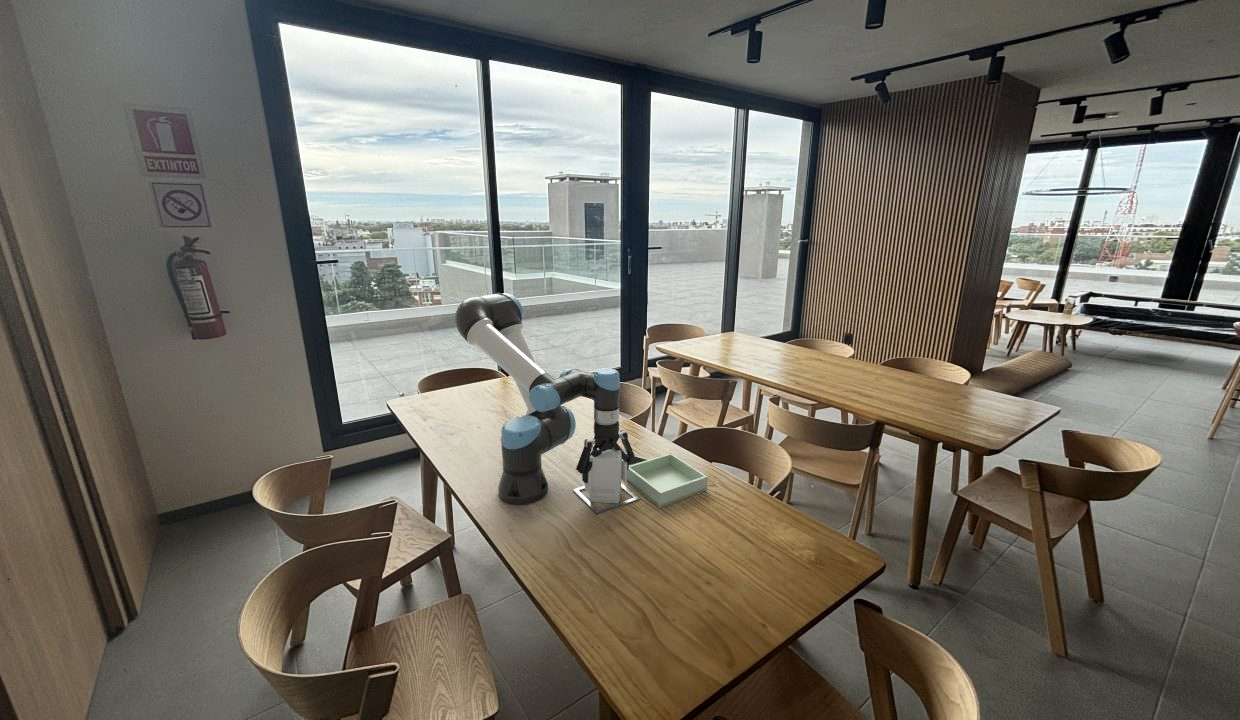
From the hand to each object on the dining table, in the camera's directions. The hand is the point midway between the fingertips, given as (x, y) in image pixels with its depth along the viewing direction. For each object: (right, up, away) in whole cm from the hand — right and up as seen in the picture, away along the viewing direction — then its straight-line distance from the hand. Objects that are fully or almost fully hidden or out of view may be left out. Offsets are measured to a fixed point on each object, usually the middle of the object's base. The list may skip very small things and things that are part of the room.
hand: (606, 485), depth 151 cm
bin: (+19, -2, +7) cm, 20 cm away
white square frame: (0, -3, +1) cm, 3 cm away
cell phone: (+10, +2, +22) cm, 24 cm away
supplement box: (0, -4, +1) cm, 4 cm away
